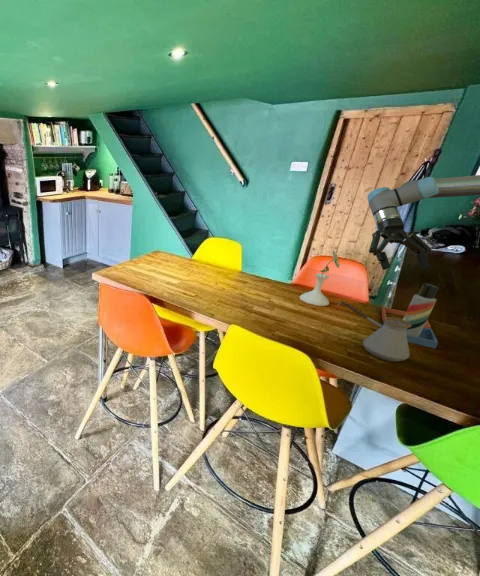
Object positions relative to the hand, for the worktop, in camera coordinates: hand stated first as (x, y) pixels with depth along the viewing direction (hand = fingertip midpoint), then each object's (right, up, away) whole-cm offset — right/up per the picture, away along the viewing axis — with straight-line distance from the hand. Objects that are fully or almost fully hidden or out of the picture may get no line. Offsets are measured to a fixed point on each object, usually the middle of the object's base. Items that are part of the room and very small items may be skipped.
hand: (406, 268), depth 113 cm
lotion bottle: (-1, -25, -1) cm, 25 cm away
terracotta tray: (+8, -21, +9) cm, 24 cm away
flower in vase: (-16, -14, +26) cm, 34 cm away
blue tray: (-1, -25, -1) cm, 25 cm away
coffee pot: (-25, -29, -10) cm, 39 cm away
